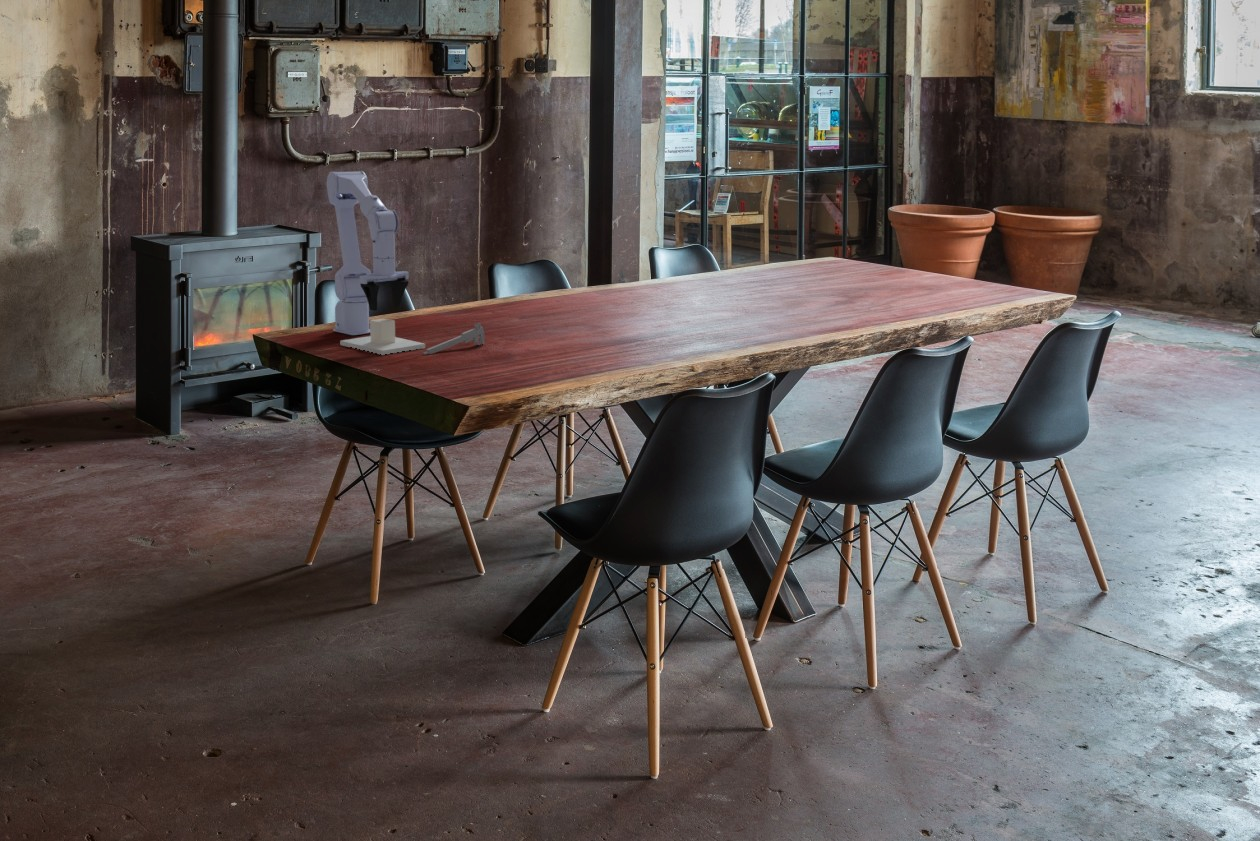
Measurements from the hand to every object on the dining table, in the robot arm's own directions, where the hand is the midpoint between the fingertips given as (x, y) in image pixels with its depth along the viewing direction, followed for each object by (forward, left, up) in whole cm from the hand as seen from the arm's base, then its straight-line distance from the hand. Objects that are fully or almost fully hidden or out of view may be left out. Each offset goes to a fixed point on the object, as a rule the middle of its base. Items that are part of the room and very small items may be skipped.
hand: (385, 308), depth 369 cm
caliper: (+16, +10, -10) cm, 22 cm away
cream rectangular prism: (+1, -2, -9) cm, 9 cm away
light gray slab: (+1, -2, -10) cm, 10 cm away
